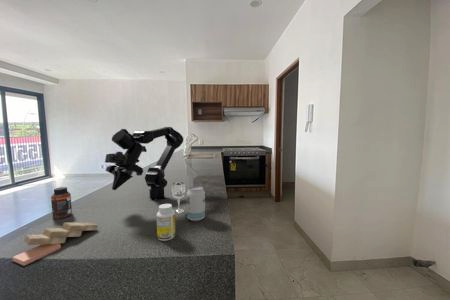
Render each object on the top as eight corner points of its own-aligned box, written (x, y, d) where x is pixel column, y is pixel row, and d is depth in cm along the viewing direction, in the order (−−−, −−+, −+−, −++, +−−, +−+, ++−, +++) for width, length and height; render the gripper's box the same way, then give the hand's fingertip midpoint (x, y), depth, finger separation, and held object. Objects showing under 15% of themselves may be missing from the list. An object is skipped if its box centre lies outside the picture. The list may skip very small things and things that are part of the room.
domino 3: (75, 228, 64) (45, 228, 57) (82, 230, 61) (51, 231, 55) (73, 233, 63) (42, 234, 57) (80, 236, 61) (48, 237, 54)
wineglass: (188, 209, 83) (187, 182, 82) (181, 215, 78) (180, 185, 77) (176, 208, 85) (176, 181, 84) (169, 213, 79) (168, 184, 78)
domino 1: (60, 233, 60) (26, 234, 54) (66, 237, 57) (30, 238, 51) (58, 239, 60) (23, 241, 53) (64, 243, 57) (28, 245, 51)
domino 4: (90, 222, 68) (63, 222, 61) (97, 225, 65) (71, 225, 59) (88, 227, 68) (62, 228, 61) (96, 230, 65) (69, 231, 58)
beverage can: (205, 221, 72) (205, 190, 71) (186, 223, 70) (186, 191, 69) (204, 214, 78) (204, 185, 77) (187, 215, 77) (186, 186, 76)
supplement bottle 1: (75, 214, 78) (73, 187, 77) (57, 220, 73) (55, 191, 72) (66, 211, 81) (65, 185, 80) (49, 217, 75) (47, 189, 74)
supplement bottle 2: (169, 230, 65) (168, 201, 64) (178, 236, 62) (178, 205, 61) (153, 237, 61) (152, 206, 60) (163, 243, 57) (162, 210, 56)
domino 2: (50, 240, 57) (12, 257, 50) (60, 244, 55) (23, 261, 48) (50, 246, 57) (13, 262, 50) (61, 249, 55) (24, 267, 48)
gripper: (104, 147, 82) (82, 181, 74) (127, 142, 72) (105, 180, 64) (126, 160, 90) (108, 192, 82) (150, 157, 79) (133, 193, 72)
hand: (113, 189), depth 75 cm, fingers closed
